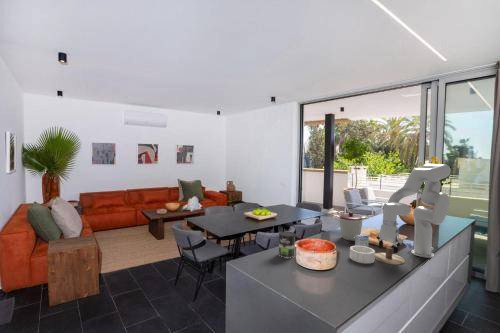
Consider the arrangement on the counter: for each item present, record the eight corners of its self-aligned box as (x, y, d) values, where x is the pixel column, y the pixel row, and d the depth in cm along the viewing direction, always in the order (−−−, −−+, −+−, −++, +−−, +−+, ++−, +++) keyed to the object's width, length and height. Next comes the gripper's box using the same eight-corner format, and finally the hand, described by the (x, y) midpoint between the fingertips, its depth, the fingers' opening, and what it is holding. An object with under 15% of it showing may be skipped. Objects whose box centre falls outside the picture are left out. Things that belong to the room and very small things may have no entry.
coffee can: (291, 259, 161) (292, 237, 160) (276, 256, 166) (276, 234, 165) (296, 254, 170) (297, 232, 169) (282, 251, 175) (282, 230, 174)
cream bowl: (359, 253, 172) (360, 244, 172) (379, 260, 160) (379, 251, 160) (345, 257, 166) (345, 247, 165) (364, 265, 153) (364, 255, 153)
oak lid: (384, 252, 175) (384, 242, 175) (410, 261, 160) (410, 250, 160) (368, 257, 167) (368, 246, 166) (393, 267, 152) (394, 255, 152)
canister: (333, 237, 207) (333, 210, 206) (349, 234, 215) (349, 209, 215) (351, 244, 191) (352, 215, 190) (368, 240, 199) (368, 213, 199)
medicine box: (358, 249, 181) (359, 236, 180) (354, 246, 185) (355, 234, 185) (368, 248, 183) (368, 235, 183) (364, 246, 187) (364, 234, 187)
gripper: (407, 225, 157) (405, 254, 157) (380, 219, 172) (379, 245, 172) (399, 227, 153) (398, 255, 154) (373, 220, 168) (371, 246, 169)
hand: (388, 250), depth 163 cm, fingers open, 9 cm apart
